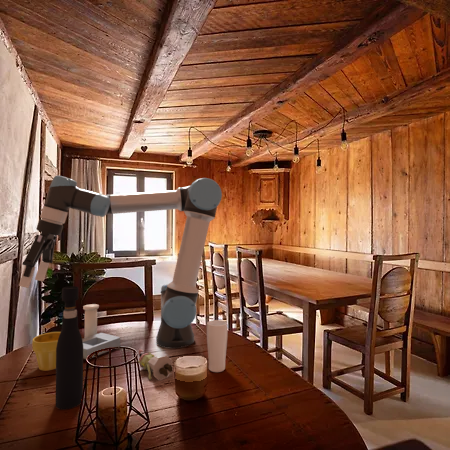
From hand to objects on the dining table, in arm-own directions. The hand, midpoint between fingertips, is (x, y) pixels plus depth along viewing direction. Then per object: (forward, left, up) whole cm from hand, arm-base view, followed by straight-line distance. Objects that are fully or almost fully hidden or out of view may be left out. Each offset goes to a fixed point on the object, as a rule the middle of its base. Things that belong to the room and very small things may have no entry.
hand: (31, 283), depth 107 cm
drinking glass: (-53, -30, -27) cm, 67 cm away
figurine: (-38, -18, -28) cm, 50 cm away
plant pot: (-5, -3, -27) cm, 28 cm away
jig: (-5, -20, -27) cm, 34 cm away
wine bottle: (-31, +7, -27) cm, 42 cm away
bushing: (+5, -26, -27) cm, 38 cm away
